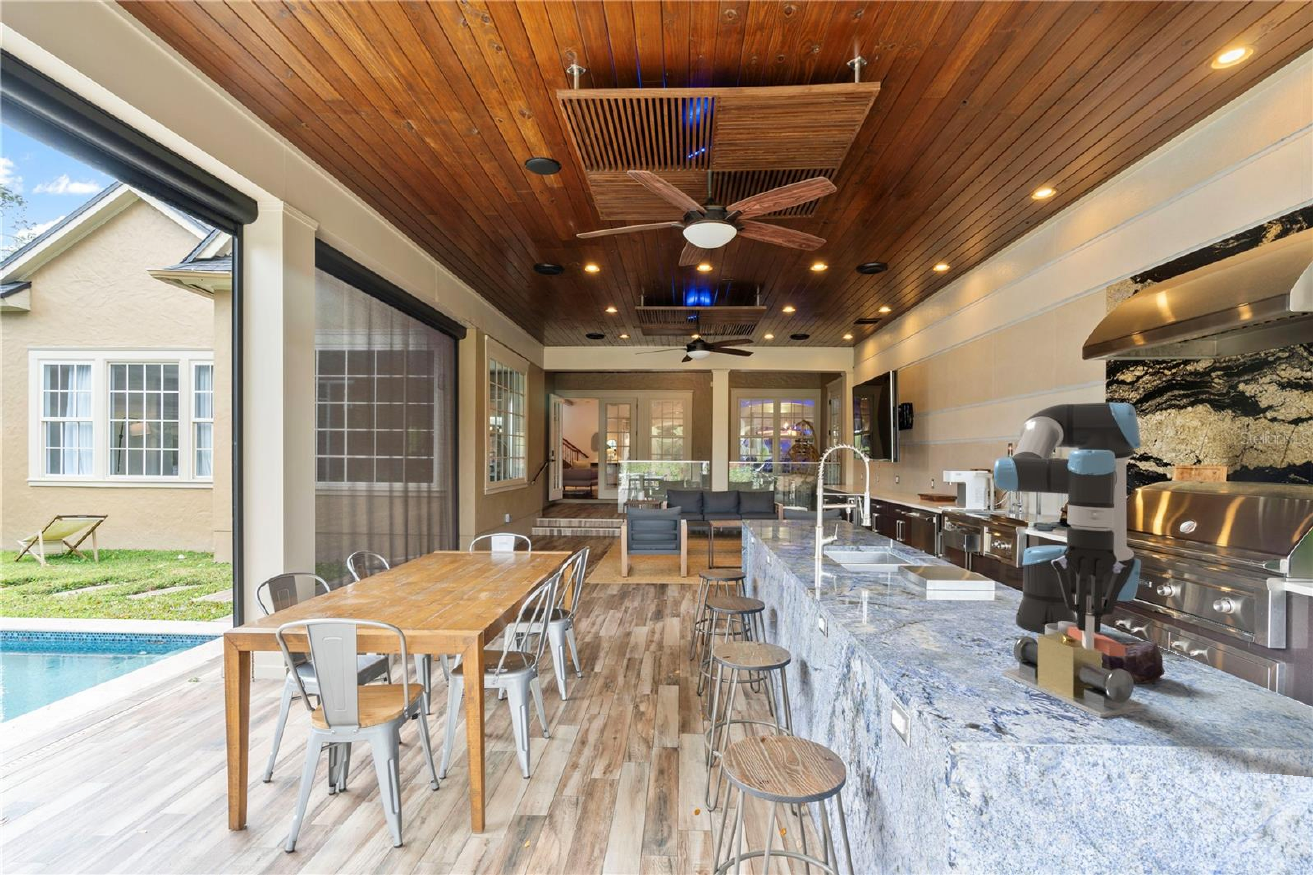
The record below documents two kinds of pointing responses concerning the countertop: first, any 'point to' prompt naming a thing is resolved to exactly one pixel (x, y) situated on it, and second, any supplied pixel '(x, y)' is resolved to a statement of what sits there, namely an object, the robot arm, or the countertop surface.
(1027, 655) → the valve
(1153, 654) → the rock
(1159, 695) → the countertop surface
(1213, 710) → the countertop surface
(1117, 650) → the lever
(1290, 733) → the countertop surface
